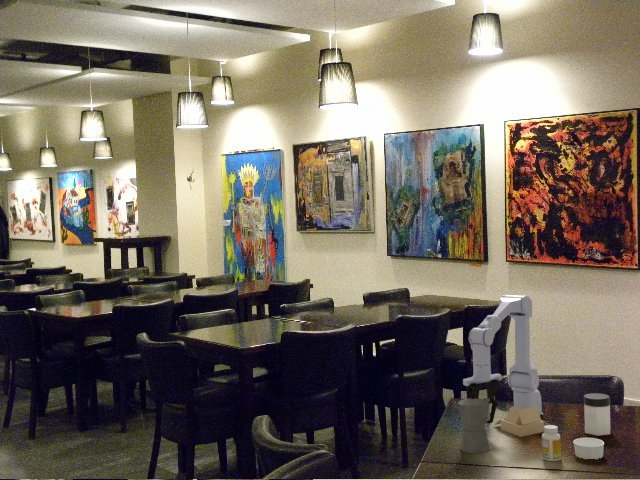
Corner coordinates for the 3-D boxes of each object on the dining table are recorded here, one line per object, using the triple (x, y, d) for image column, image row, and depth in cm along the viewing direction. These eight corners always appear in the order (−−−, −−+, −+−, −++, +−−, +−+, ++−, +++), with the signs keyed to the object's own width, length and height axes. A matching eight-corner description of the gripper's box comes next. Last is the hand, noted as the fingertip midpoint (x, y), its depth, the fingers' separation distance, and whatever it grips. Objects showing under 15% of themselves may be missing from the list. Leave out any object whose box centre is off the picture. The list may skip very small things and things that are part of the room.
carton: (523, 425, 277) (523, 415, 277) (544, 431, 268) (543, 421, 268) (500, 429, 273) (500, 419, 273) (520, 437, 264) (520, 426, 264)
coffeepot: (465, 456, 246) (463, 398, 245) (448, 448, 255) (446, 392, 254) (507, 448, 252) (505, 392, 252) (489, 441, 261) (487, 386, 260)
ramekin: (600, 462, 236) (600, 447, 236) (570, 458, 241) (569, 444, 241) (607, 453, 244) (607, 439, 244) (577, 450, 249) (577, 436, 248)
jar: (616, 432, 265) (615, 396, 264) (603, 437, 260) (602, 400, 259) (592, 426, 272) (591, 391, 271) (578, 432, 267) (577, 396, 266)
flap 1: (522, 415, 277) (514, 420, 281) (522, 414, 277) (514, 420, 281) (501, 419, 273) (493, 425, 277) (500, 418, 273) (493, 424, 277)
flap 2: (505, 420, 271) (511, 407, 272) (515, 423, 266) (522, 410, 267) (505, 420, 270) (511, 406, 272) (515, 423, 266) (521, 409, 267)
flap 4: (524, 415, 277) (533, 421, 279) (543, 421, 269) (552, 427, 271) (524, 414, 277) (534, 421, 279) (543, 420, 269) (553, 427, 271)
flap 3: (540, 420, 268) (536, 406, 270) (541, 420, 268) (536, 406, 269) (522, 424, 264) (517, 409, 266) (522, 424, 264) (517, 409, 266)
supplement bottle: (561, 456, 243) (560, 424, 242) (560, 462, 238) (559, 429, 237) (542, 455, 245) (542, 423, 244) (541, 461, 239) (540, 428, 239)
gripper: (491, 359, 275) (492, 398, 276) (456, 364, 269) (458, 404, 270) (505, 362, 269) (506, 402, 270) (469, 368, 263) (471, 409, 263)
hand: (483, 404), depth 269 cm, fingers open, 6 cm apart
